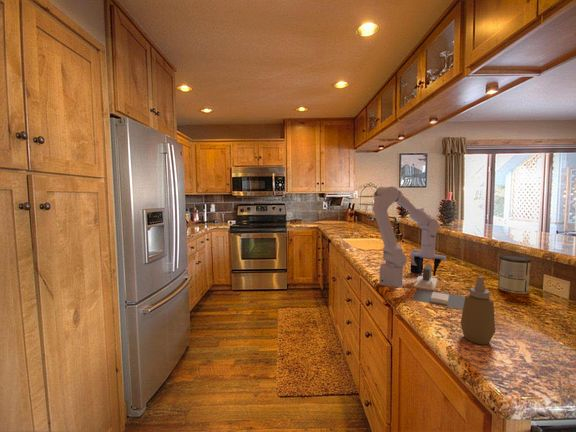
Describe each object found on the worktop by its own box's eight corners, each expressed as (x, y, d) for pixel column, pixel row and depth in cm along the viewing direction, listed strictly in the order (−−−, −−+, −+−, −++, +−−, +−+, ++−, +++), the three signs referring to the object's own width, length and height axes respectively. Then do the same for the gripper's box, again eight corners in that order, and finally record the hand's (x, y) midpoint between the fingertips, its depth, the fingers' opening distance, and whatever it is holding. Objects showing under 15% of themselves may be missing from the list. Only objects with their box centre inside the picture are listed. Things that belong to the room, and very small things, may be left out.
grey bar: (417, 285, 120) (418, 271, 119) (422, 276, 132) (422, 264, 132) (430, 287, 117) (431, 273, 117) (434, 278, 130) (434, 265, 129)
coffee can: (493, 284, 124) (495, 253, 123) (521, 287, 121) (524, 255, 120) (503, 292, 115) (505, 259, 113) (533, 295, 111) (536, 261, 110)
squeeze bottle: (453, 332, 81) (456, 273, 80) (478, 331, 82) (482, 272, 81) (473, 348, 73) (478, 282, 72) (502, 346, 74) (506, 281, 73)
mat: (411, 301, 105) (411, 299, 105) (417, 289, 117) (417, 288, 117) (471, 313, 95) (471, 311, 95) (471, 299, 107) (471, 297, 107)
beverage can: (424, 275, 137) (425, 252, 136) (411, 275, 138) (412, 251, 137) (420, 272, 142) (422, 249, 141) (409, 271, 143) (410, 249, 142)
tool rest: (413, 287, 119) (413, 285, 119) (418, 277, 134) (418, 275, 134) (433, 291, 115) (433, 289, 115) (437, 280, 129) (437, 278, 129)
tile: (432, 295, 109) (430, 301, 103) (432, 291, 109) (430, 297, 103) (448, 298, 106) (447, 305, 100) (448, 294, 106) (447, 300, 100)
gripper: (447, 245, 124) (445, 274, 125) (412, 241, 132) (411, 269, 133) (446, 247, 118) (444, 278, 119) (409, 244, 126) (408, 273, 127)
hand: (426, 274), depth 126 cm, fingers open, 5 cm apart
